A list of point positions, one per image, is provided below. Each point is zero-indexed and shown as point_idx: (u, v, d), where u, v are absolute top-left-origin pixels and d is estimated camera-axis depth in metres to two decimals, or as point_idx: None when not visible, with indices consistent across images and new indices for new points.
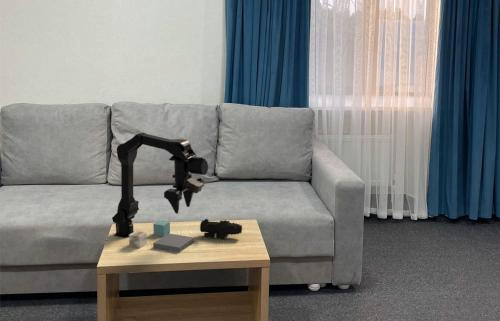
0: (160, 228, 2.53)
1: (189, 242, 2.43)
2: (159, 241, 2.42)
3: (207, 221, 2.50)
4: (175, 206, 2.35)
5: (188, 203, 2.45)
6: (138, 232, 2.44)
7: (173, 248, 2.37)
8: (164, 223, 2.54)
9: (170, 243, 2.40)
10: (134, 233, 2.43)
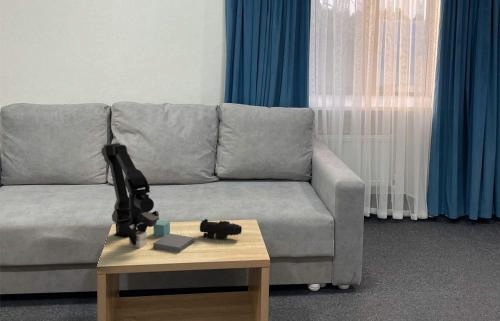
0: (160, 228, 2.53)
1: (189, 242, 2.43)
2: (159, 241, 2.42)
3: (206, 221, 2.50)
4: (132, 238, 2.39)
5: None
6: (138, 232, 2.44)
7: (173, 248, 2.37)
8: (164, 223, 2.54)
9: (170, 243, 2.40)
10: None
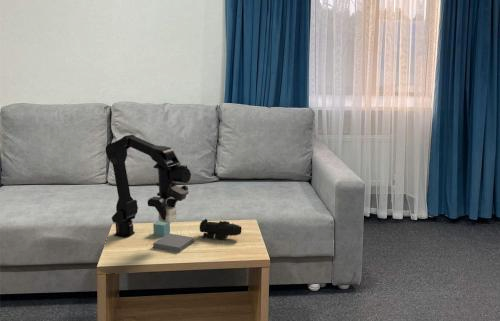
0: (160, 228, 2.53)
1: (189, 242, 2.43)
2: (159, 241, 2.42)
3: (206, 221, 2.49)
4: (162, 213, 2.37)
5: None
6: (167, 207, 2.41)
7: (173, 248, 2.37)
8: (164, 223, 2.54)
9: (170, 243, 2.40)
10: None
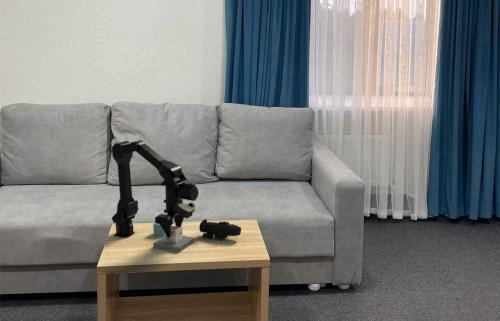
0: (160, 228, 2.53)
1: (189, 242, 2.43)
2: (159, 241, 2.42)
3: (206, 221, 2.49)
4: (167, 230, 2.38)
5: None
6: (174, 227, 2.44)
7: (173, 248, 2.37)
8: None
9: (170, 243, 2.40)
10: None
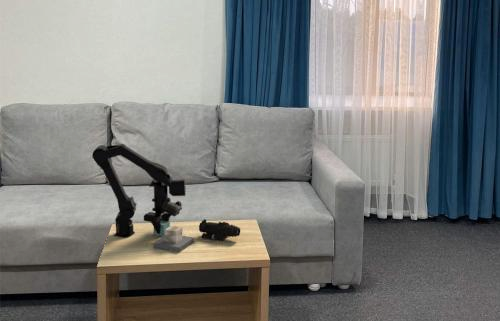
0: (160, 228, 2.53)
1: (189, 242, 2.43)
2: (159, 241, 2.42)
3: (205, 221, 2.49)
4: (157, 227, 2.52)
5: None
6: (174, 227, 2.44)
7: (173, 248, 2.37)
8: (164, 223, 2.54)
9: (170, 243, 2.40)
10: (169, 228, 2.43)
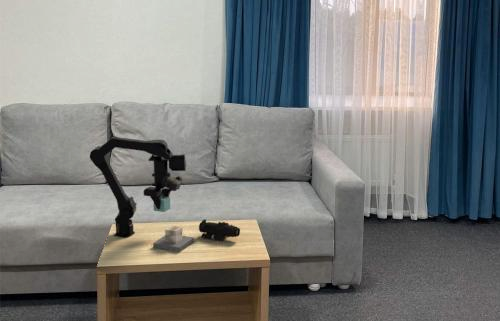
0: None
1: (189, 242, 2.43)
2: (159, 241, 2.42)
3: (205, 222, 2.49)
4: (157, 202, 2.49)
5: None
6: (174, 227, 2.44)
7: (173, 248, 2.37)
8: (164, 198, 2.51)
9: (170, 243, 2.40)
10: (169, 228, 2.43)
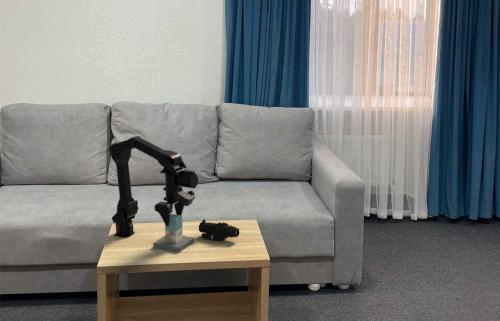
0: (172, 222, 2.39)
1: (189, 242, 2.43)
2: (159, 241, 2.42)
3: (204, 222, 2.49)
4: (166, 219, 2.36)
5: None
6: None
7: (173, 248, 2.37)
8: (176, 217, 2.41)
9: (170, 243, 2.40)
10: None
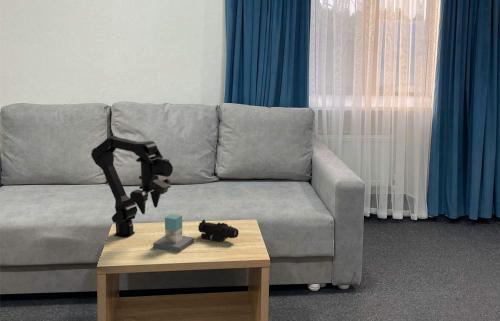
0: (172, 222, 2.39)
1: (189, 242, 2.43)
2: (159, 241, 2.42)
3: (204, 222, 2.49)
4: (141, 207, 2.39)
5: (155, 204, 2.49)
6: None
7: (173, 248, 2.37)
8: (176, 217, 2.41)
9: (170, 243, 2.40)
10: None
